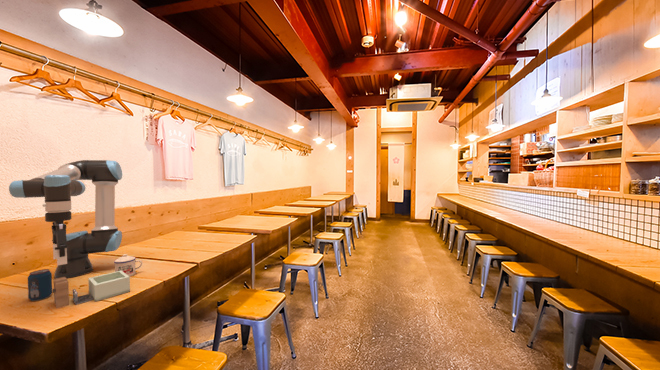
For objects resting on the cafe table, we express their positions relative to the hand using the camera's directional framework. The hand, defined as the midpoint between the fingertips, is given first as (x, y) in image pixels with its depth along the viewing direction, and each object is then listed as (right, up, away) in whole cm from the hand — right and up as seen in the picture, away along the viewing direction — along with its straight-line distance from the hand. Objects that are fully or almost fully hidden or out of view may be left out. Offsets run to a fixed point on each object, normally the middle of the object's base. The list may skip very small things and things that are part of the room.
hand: (60, 261), depth 105 cm
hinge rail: (+6, -18, +4) cm, 19 cm away
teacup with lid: (+3, -18, +32) cm, 37 cm away
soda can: (-15, -18, +6) cm, 24 cm away
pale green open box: (+12, -18, +10) cm, 24 cm away
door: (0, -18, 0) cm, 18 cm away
